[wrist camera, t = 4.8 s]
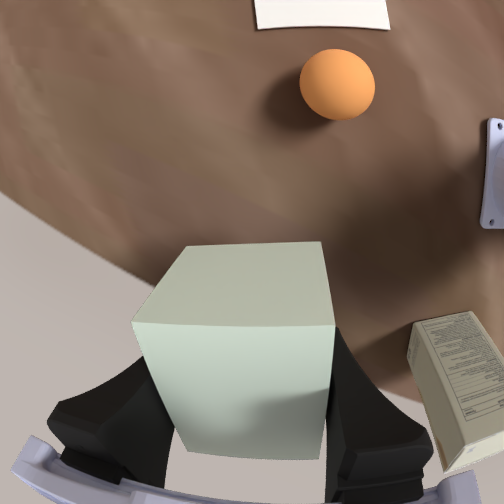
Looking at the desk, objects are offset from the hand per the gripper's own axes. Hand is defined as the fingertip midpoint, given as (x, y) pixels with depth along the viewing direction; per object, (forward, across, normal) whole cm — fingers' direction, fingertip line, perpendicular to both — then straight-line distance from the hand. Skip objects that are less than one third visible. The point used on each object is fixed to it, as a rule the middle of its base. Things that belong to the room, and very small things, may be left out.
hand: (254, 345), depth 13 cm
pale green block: (+2, 0, 0) cm, 2 cm away
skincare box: (+9, -15, +8) cm, 19 cm away
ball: (+7, -4, -11) cm, 14 cm away
